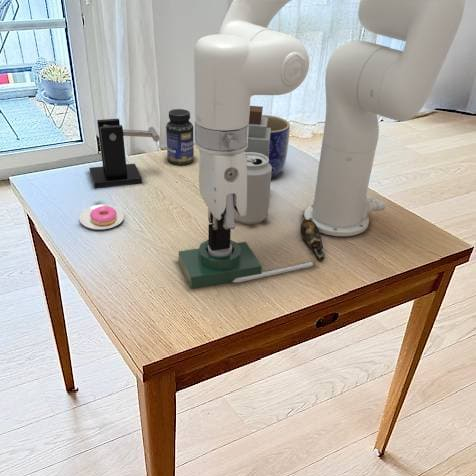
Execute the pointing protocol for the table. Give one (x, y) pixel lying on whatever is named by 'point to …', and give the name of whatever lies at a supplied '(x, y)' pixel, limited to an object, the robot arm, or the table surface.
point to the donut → (101, 216)
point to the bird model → (312, 237)
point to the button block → (218, 265)
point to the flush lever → (140, 133)
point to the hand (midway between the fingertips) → (219, 247)
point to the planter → (278, 142)
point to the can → (256, 188)
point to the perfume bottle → (258, 132)
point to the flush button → (220, 252)
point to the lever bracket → (113, 158)
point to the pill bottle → (179, 137)
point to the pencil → (274, 272)
